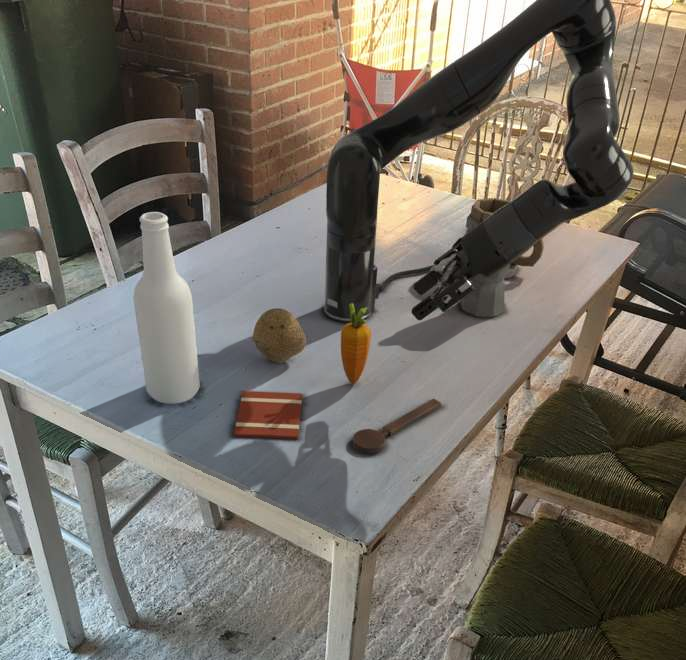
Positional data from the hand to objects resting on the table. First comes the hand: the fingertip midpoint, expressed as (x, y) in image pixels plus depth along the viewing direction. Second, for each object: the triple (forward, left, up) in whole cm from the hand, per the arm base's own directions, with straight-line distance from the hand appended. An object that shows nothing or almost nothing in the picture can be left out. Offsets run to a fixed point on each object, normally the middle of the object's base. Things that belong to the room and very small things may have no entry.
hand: (415, 302), depth 121 cm
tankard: (-50, -22, -17) cm, 58 cm away
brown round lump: (+13, -20, -17) cm, 29 cm away
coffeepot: (-32, -13, -17) cm, 39 cm away
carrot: (+7, -6, -17) cm, 19 cm away
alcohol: (+33, -22, -17) cm, 43 cm away
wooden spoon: (+9, +8, -16) cm, 20 cm away
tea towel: (+24, -7, -16) cm, 30 cm away
